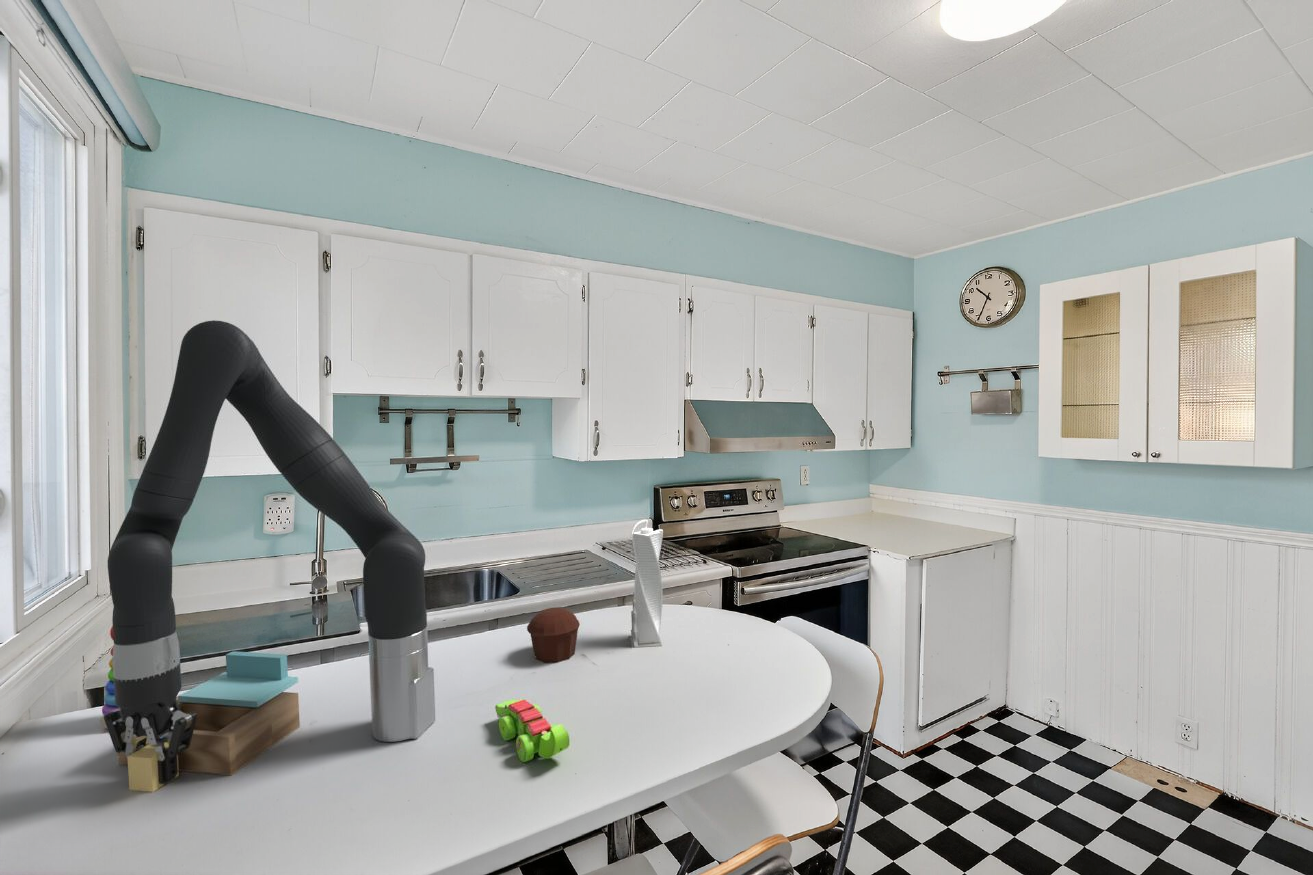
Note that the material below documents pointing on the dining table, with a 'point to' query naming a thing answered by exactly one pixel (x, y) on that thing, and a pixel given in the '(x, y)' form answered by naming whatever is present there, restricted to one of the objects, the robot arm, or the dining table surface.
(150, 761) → the ochre block
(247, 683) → the sliding lid
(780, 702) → the dining table surface
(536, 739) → the toy crocodile
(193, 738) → the wooden box
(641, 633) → the skyscraper
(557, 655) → the muffin
